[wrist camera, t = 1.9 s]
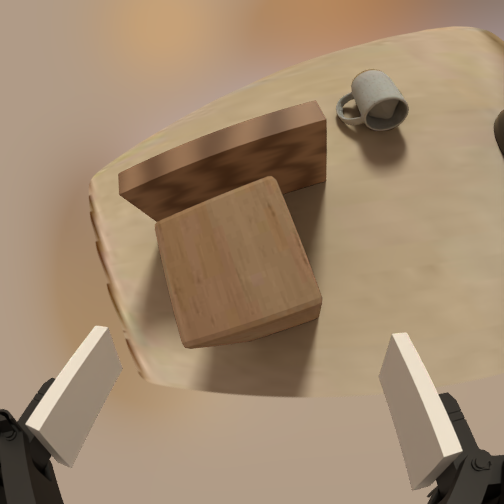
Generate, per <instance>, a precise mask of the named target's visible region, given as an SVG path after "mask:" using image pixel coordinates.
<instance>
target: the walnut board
mask: <svg viewBox="0 0 504 504" xmlns="http://www.w3.org/2000/svg"><path fill="white" fill-rule="evenodd" d="M326 156H327V128H326V118H325V116H324V114H323V112H322V110H321V109H320V107H319V105H318V103H317V102H316V100H315V101H311V102H307V103H304V104H300V105H296V106H293V107H289V108H286V109H282V110H279V111H276V112H272V113H269V114H266V115H263V116H260V117H256V118H253V119H250V120H247V121H244V122H241V123H238V124H236V125H233V126H230V127H227V128H224V129H221V130H219V131H216V132H213V133H211V134H208V135H205V136H203V137H200V138H198V139H195V140H193V141H190V142H188V143H185V144H183V145H180V146H178V147H176V148H173V149H171V150H168V151H166V152H164V153H162V154H159V155H157V156H155V157H153V158H150V159H148V160H146V161H144V162H142V163H139V164H137V165H135V166H133V167H131V168H129V169H127V170H125V171H123V172H121V173H119V174H118V177H119V195H120V196H122V197H123V198H124V199H126V200H127V201H129V202H130V203H131V204H133V205H134V206H136V207H137V208H138V209H140V210H141V211H142V212H144V213H145V214H147V215H148V216H149V217H151V218H152V219H154V220H155V221H156V222H158V221H160V220H163V219H165V218H167V217H169V216H172V215H174V214H176V213H178V212H181V211H183V210H185V209H188V208H190V207H192V206H195V205H197V204H200V203H202V202H204V201H207V200H209V199H212V198H214V197H216V196H219V195H221V194H224V193H226V192H229V191H231V190H234V189H236V188H239V187H241V186H244V185H247V184H249V183H252V182H254V181H257V180H260V179H262V178H265V177H267V176H272V177H273V178H275V179H276V180H277V183H278V185H279V188H280V190H281V192H282V194H285V193H288V192H292V191H295V190H298V189H301V188H304V187H308V186H311V185H314V184H317V183H321V182H324V181H326Z"/></svg>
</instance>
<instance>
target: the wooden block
mask: <svg viewBox="0 0 504 504" xmlns="http://www.w3.org/2000/svg"><path fill="white" fill-rule="evenodd" d="M155 231H156V236H157V241H158V246H159V251H160V256H161V260H162V265H163V269H164V274H165V278H166V282H167V287H168V291H169V295H170V299H171V303H172V307H173V311H174V315H175V319H176V322H177V326H178V330H179V334H180V337H181V341H182V344H183V345H184V347H185V348H189V349H193V348H202V347H210V346H218V345H226V344H233V343H241V342H247V341H252V340H255V339H258V338H261V337H264V336H267V335H271V334H274V333H277V332H280V331H282V330H285V329H288V328H291V327H294V326H297V325H300V324H303V323H305V322H308V321H311V320H314V319H316V318H318V317H319V314H320V310H321V305H322V296H321V293H320V290H319V287H318V285H317V282H316V279H315V277H314V274H313V271H312V269H311V266H310V263H309V261H308V258H307V255H306V253H305V250H304V248H303V245H302V242H301V240H300V237H299V235H298V232H297V230H296V227H295V224H294V222H293V219H292V217H291V214H290V212H289V209H288V207H287V205H286V202H285V200H284V197H283V195H282V192H281V190H280V188H279V185H278V183H277V180H276V179H275V178H273V177H272V176H267V177H265V178H262V179H260V180H257V181H254V182H252V183H249V184H247V185H244V186H241V187H239V188H236V189H234V190H231V191H229V192H226V193H224V194H221V195H219V196H216V197H214V198H212V199H209V200H207V201H204V202H202V203H200V204H197V205H195V206H192V207H190V208H188V209H185V210H183V211H181V212H178V213H176V214H174V215H172V216H169V217H167V218H165V219H163V220H160V221H158V222H157V223H156V224H155Z"/></svg>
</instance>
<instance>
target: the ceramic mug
mask: <svg viewBox="0 0 504 504" xmlns="http://www.w3.org/2000/svg"><path fill="white" fill-rule="evenodd" d="M351 89H352V92H351V93H349V94H346V95H345V96H343V97H342V98H341V99H340V100H339V101H338V103H337V106H336V111H337V115H338V116H339V118H340V119H341V120H342V121H343V122H344V123H346V124H348V125H358V124H362V123H365V125H366V126H367V127H368V128H370V129H372V130H377V131H384V130H389V129H392V128H394V127H396V126H398V125H400V124H401V123H402V122H403V121H404V120H405V118H406V117H407V115H408V111H409V107H408V104H407V102H406V100H405V99H404V98H403V96H402V94H401V93H400V91H399V90H398V89H397V87H396V86H395V84H394V83H393V81H392V80H391V79H390V78H389V77H388V76H387V75H386V74H385V73H384V72H382V71H380V70H375V69H370V70H366V71H363V72H361V73H359V74H358V75H357V76H356V77H355V78H354V80H353V82H352V85H351ZM352 99H355V102H356V104H357V106H358V109H359V111H360V114H361V116H360V117H358V118H345V117H344V116H343V108H342V107H343V106H344V104H346V103H347V102H348V101H350V100H352Z"/></svg>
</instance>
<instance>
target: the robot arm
mask: <svg viewBox="0 0 504 504" xmlns="http://www.w3.org/2000/svg"><path fill="white" fill-rule="evenodd" d="M494 132H495V137H496V140H497V142H498V145H499V147H500V149H501V151H502V152H503V154H504V110H502V111H501V112H500V114H499V115H498V117H497V118H496V120H495V123H494ZM122 369H123V368H122V365H121V363H120V360H119V357H118V354H117V352H116V349H115V346H114V343H113V340H112V337H111V334H110V331H109V328H108V327H102V326H95V327H94V328H93V330H92V331H91V332H90V334H89V335H88V336H87V337H86V339H85V340H84V341H83V343H82V344H81V345H80V347H79V348H78V349H77V351H76V352H75V353H74V355H73V356H72V357H71V359H70V360H69V361H68V363H67V364H66V366H65V367H64V368H63V370H62V371H61V372H60V374H59V375H58V377H57V378H56V379H54V378H51V379H50V380H48V381H47V382H45V383H44V384H43V385H42V387H41V388H40V390H39V391H38V394H36V395H35V397H34V398H33V400H32V401H31V403H30V404H29V405H28V407H27V408H26V410H25V411H24V413H23V414H22V416H21V417H20V419H19V421H17V422H16V420H15V419H14V418H13V416H12V415H11V414H10V413H9V412H8V411H7V410H4V409H1V410H0V504H64V503H63V500H62V497H61V494H60V491H59V487H58V484H57V481H56V477H55V474H54V470H53V466H52V463H51V461H50V460H49V459H50V457H51V455H52V456H53V457H54V459H55V460H56V461H57V462H58V463H61V464H63V465H65V466H68V467H71V468H72V466H73V464H74V462H75V460H76V458H77V456H78V454H79V452H80V450H81V448H82V445H83V444H84V442H85V440H86V437H87V436H88V434H89V431H90V430H91V428H92V425H93V424H94V422H95V420H96V418H97V416H98V414H99V412H100V410H101V408H102V406H103V404H104V402H105V400H106V399H107V397H108V395H109V393H110V391H111V389H112V387H113V386H114V383H115V382H116V380H117V378H118V376H119V375H120V373H121V371H122ZM379 379H380V382H381V385H382V388H383V391H384V394H385V397H386V400H387V403H388V406H389V410H390V413H391V416H392V419H393V422H394V426H395V429H396V432H397V435H398V439H399V443H400V446H401V449H402V453H403V457H404V460H405V464H406V468H407V472H408V476H409V480H410V484H411V488H412V490H417V489H421V488H424V487H428V486H430V485H431V484H432V483H433V482H434V481H435V480H436V481H437V485H438V486H437V487H436V488H435V489H433V490H432V491H431V492H430V493H429V495H428V496H427V497H430V496H431V495H432V496H431V498H430V500H429V502H428V504H504V455H499V456H491V455H490V454H489V453H488V452H487V451H485V450H481V449H479V448H478V446H477V444H476V442H475V439H474V437H473V435H472V433H471V430H470V428H469V426H468V424H467V422H466V420H465V419H464V415H463V413H462V412H461V409H460V407H459V405H458V403H457V401H456V400H455V399H454V398H453V397H452V396H451V395H450V394H449V393H443V394H438V393H437V391H436V389H435V387H434V384H433V382H432V380H431V378H430V376H429V374H428V372H427V370H426V368H425V366H424V364H423V362H422V361H421V359H420V357H419V355H418V353H417V351H416V349H415V347H414V345H413V343H412V342H411V340H410V338H409V336H408V334H407V333H395V334H392V335H391V338H390V342H389V345H388V349H387V352H386V355H385V359H384V362H383V365H382V368H381V371H380V374H379Z"/></svg>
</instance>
